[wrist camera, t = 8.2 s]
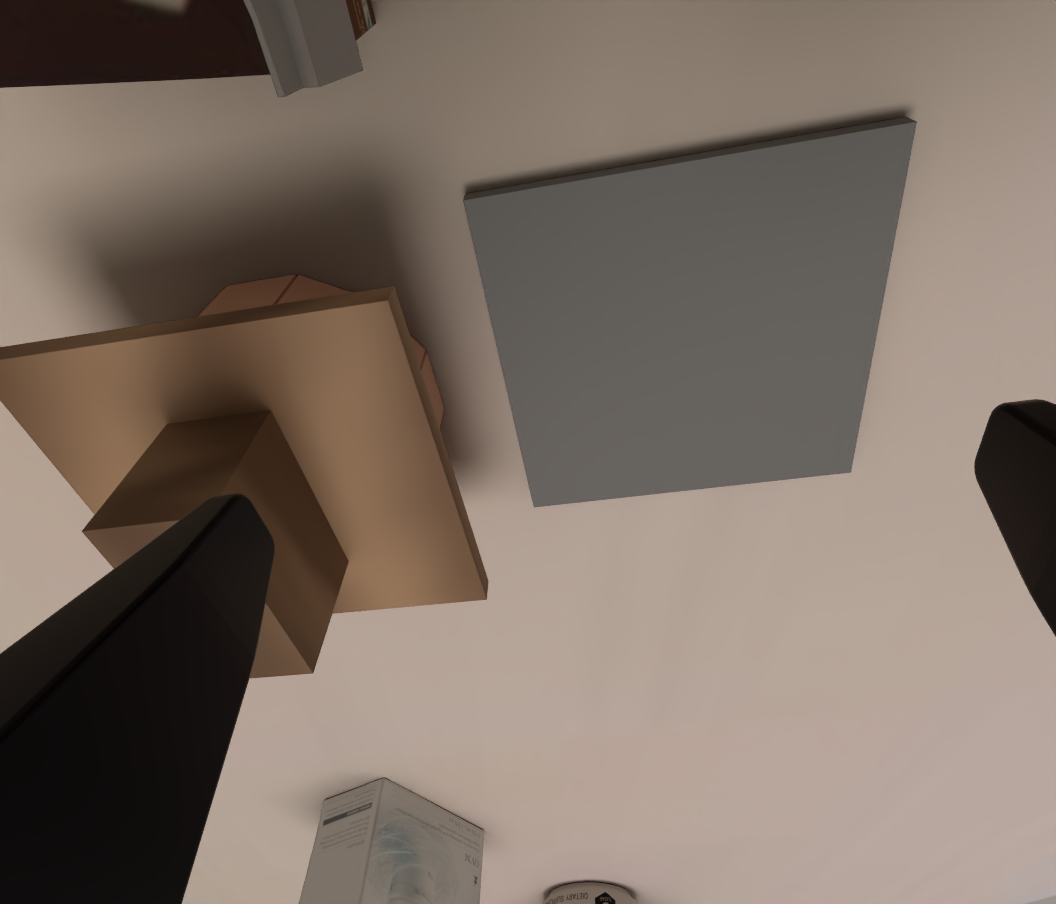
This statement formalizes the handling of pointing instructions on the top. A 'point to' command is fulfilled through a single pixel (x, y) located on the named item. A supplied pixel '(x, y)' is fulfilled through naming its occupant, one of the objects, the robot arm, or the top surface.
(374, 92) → the top surface
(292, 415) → the walnut lid
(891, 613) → the top surface
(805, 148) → the rubber mat
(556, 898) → the supplement can
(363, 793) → the skincare box
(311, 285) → the terracotta bowl
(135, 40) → the food container
